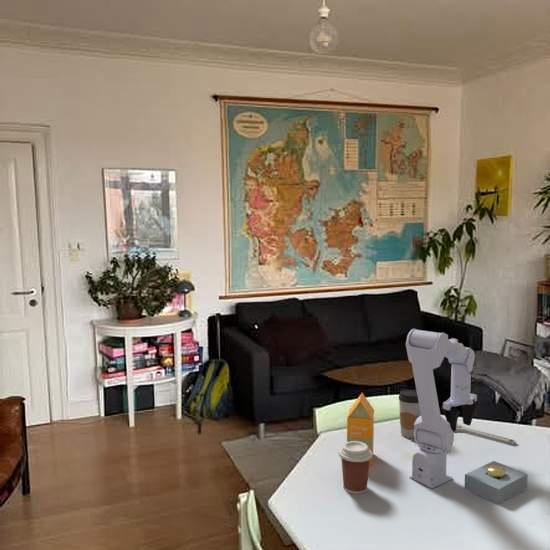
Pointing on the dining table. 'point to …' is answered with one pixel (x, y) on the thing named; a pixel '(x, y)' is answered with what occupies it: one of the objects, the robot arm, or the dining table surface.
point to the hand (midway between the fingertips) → (459, 427)
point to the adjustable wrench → (484, 435)
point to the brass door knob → (495, 471)
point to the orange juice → (361, 423)
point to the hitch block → (495, 483)
